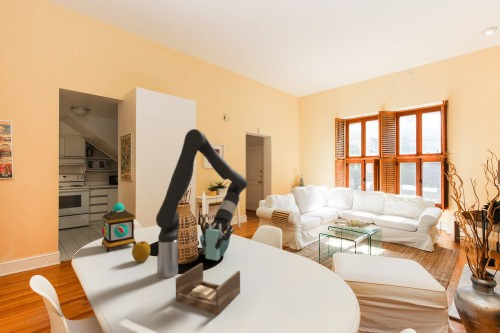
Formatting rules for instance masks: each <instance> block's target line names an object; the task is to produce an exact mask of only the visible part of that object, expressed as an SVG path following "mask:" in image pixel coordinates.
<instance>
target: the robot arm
mask: <svg viewBox="0 0 500 333" xmlns="http://www.w3.org/2000/svg"><path fill="white" fill-rule="evenodd" d="M198 152H199V153H201V154H202V155H203V156H204V157H205V159H206V160H207V162H208V163H209V164H210V165H211V168H212V169H213V170H214V171H215V172H216V174H218V176H219V177H220V178H222V180H226V181H227V180H228V181H230V183H229V185H228V188H227V190H226V193H225V196H224V199H223V200H222V202H221V204H220V205H219V207H218V209H217V211H216V213H215V215H214V218H213V221H212V222H211V223H208V222H206V223H205V224H204V227H203V231H202V235H204V236H205V239H204V241H203V243H202V244H203V246H204V247H206V229H208V228H211V229H218V230H220V236H219V239H218V241H217V243H216V245H215V248H216V249H219V248H220V247H221V244H222V242H223V241H224V240H226V241H228V239H229V238H230V239H231V236H232V234H233V233H234V230H235V228H234V227H233V225H231V223H232V220H233V218H234V216H235V213H236V209H237V206H238V204H239V201H240V195H241V193H242V192H243V191H244V190H245V189H246V188H247V186H248V181H247V179H246V177H245V176H243V175H242V174H241V173H239V172H238V171H236V170H234V168H232V167H231V165H229V163H228V162H227V161H226V160H225V159H224V158H223V157H222V156H221V155H220V154H219V153H218V152H217V150H216V149H215V148H214V147H213V146H212V144H211V143H210V141H209V139H208V137H207V136H206V135H205V133H203V132H202V131H201V130H199V129H196V128H194V129H193V128H192V129H190V130H189V131H187V132H186V134H185V137H184V140H183V144H182V149H181V151H180V155H179V158H178V160H177V163H176V165H175V168H174V171H173V173H172V176H171V179H170V182H169V184H168V188H167V191H166V193H165V197H164V199H163V202H162V204H161V206H160V208H159V210H158V212H157V214H156V216H155V221H156V222H155V223H156V225H157V226H158V227H159V228H160V232H159V234H158V254H157V256H156V260H157V262H156V263H157V264H156V272H157V275H158V276H159V278H162V279H165V278H172V277H175V276H177V275H178V273H179V250H178V249H179V247H178V246H179V245H178V244H179V242H178V241H179V238H178V237H179V229H180V215H179V212H178V210H177V209H178V208H179V207H178V206H179V204H180V202H181V201H182V198H183V197H184V196H185V194H186V192H187V191H188V188H189V187H190V184H191V181H192V177H193V174H194V166H195V159H196V157H197V154H198ZM225 232H226V233H225Z"/></svg>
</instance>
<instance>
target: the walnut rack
mask: <svg viewBox="0 0 500 333" xmlns="http://www.w3.org/2000/svg"><path fill="white" fill-rule="evenodd" d="M199 285H202V286H205V287H208V288H211V289H214V292H215V293H216V301H215V302H214V303H212V302H209V301H205V300H202V299H198V298H195V297H192V295H193V294H192V290H193V289H194V288H196V287H198V286H199ZM240 294H241V271H240V270H236V272H235V273H233V274H232V275H231V276H230V277H229V278H227V279H226V280H225V281H224V282H223V283H221V284H217V283H213V282H208V281H204V263H202V262H201V263H198V264H197V265H195V266H194V267H192V268H190V269H189V270H187V271H185V272H183V273H182V274H181V275H178V276H177V277H176V278H175V302H177V303H180V304H183V305H186V306H189V307H192V308H196V309H198V310H202V311H205V312H209V313H211V314H213V315H218V316H219V315H221V313H222V312H223V311H224V310H225V309H226V308H228V306H230V304H231V303H232V302H233V301H234V300H235V299H236V298H237V297H238V296H239V295H240Z"/></svg>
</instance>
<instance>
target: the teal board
mask: <svg viewBox="0 0 500 333" xmlns="http://www.w3.org/2000/svg"><path fill="white" fill-rule="evenodd" d="M219 236H220V230H218V229H211V228H208V229H206V253H205V259H207V260H212V261H218V260H220V258H221V257H220V248H219V249H216V248H215V245H216V243H217V241H218V239H219Z"/></svg>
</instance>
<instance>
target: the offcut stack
mask: <svg viewBox="0 0 500 333" xmlns="http://www.w3.org/2000/svg"><path fill="white" fill-rule="evenodd" d="M192 294H193V295H192V297H195V298H198V299H202V300H205V301H209V302H212V303H214V302H215V301H216V293H215V292H214V289H211V288H208V287H205V286H202V285H199V286H198V287H196V288H194V289H193V290H192Z"/></svg>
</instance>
